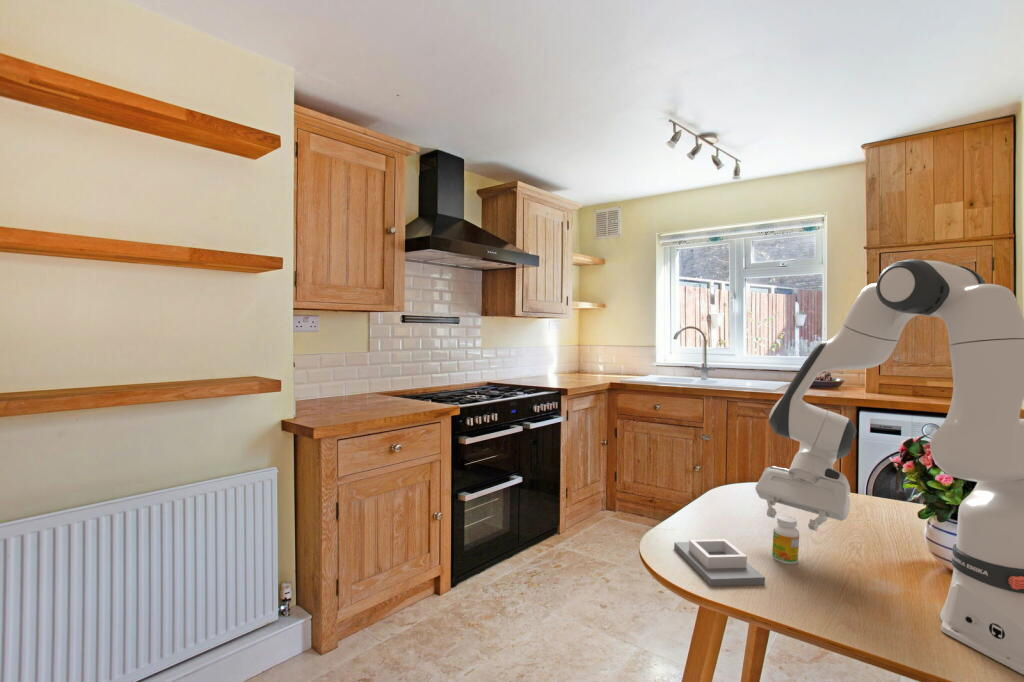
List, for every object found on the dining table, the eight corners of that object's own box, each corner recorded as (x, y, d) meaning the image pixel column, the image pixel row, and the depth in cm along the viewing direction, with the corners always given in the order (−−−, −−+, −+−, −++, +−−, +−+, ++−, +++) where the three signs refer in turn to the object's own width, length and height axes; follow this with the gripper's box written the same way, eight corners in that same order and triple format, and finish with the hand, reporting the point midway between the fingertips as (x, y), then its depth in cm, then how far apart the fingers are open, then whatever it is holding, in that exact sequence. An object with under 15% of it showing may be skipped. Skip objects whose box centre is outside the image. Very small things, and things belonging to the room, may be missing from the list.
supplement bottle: (766, 556, 126) (768, 515, 125) (783, 552, 128) (785, 513, 128) (786, 566, 121) (788, 524, 121) (803, 562, 123) (805, 521, 123)
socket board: (764, 584, 112) (765, 565, 112) (710, 586, 111) (711, 567, 110) (721, 547, 130) (721, 531, 130) (674, 548, 129) (674, 532, 128)
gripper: (763, 457, 138) (743, 502, 132) (852, 477, 123) (835, 529, 117) (769, 471, 141) (750, 515, 135) (858, 492, 126) (840, 543, 120)
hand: (790, 522), depth 126 cm, fingers open, 8 cm apart
